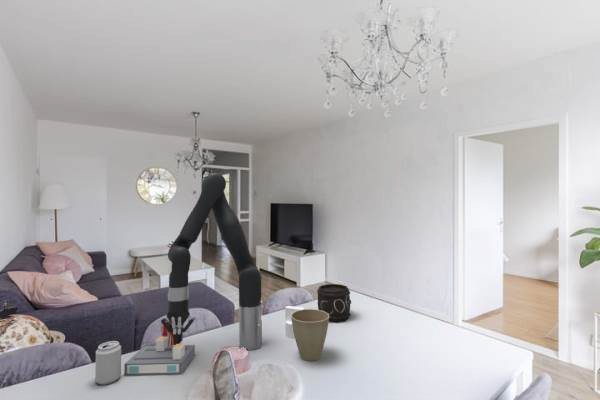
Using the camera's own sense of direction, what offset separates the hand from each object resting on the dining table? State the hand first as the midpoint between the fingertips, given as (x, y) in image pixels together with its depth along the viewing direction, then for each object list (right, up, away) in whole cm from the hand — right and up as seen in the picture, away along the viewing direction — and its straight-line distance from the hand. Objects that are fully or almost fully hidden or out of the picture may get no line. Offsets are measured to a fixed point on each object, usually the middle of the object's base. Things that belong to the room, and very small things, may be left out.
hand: (178, 342), depth 118 cm
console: (-5, -6, -4) cm, 9 cm away
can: (-18, -6, -14) cm, 24 cm away
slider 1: (-6, -2, 0) cm, 7 cm away
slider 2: (+3, -2, -7) cm, 8 cm away
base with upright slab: (+45, -7, +22) cm, 51 cm away
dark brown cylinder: (+66, -7, +44) cm, 79 cm away
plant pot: (+51, -6, +1) cm, 52 cm away
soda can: (-9, -7, +13) cm, 18 cm away
